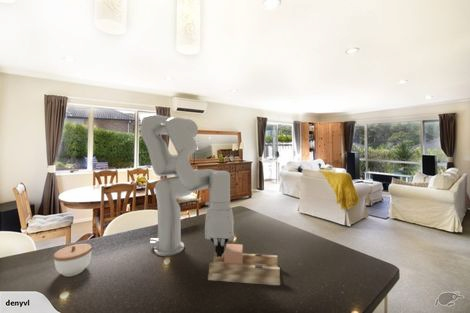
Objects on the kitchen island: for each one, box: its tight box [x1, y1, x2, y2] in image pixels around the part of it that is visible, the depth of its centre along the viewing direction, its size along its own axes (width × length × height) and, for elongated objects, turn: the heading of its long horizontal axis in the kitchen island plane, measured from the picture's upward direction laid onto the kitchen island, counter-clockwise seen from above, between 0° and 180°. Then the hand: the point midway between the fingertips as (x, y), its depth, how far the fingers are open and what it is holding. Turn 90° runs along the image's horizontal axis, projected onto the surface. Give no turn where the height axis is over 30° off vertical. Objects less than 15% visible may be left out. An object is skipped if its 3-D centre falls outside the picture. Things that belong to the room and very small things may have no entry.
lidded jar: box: [53, 243, 93, 277], centre depth 74 cm, size 11×11×9 cm
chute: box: [207, 251, 281, 286], centre depth 75 cm, size 24×12×5 cm, turn 84°
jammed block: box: [224, 243, 244, 265], centre depth 75 cm, size 6×6×7 cm
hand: (219, 254), depth 76 cm, fingers closed
